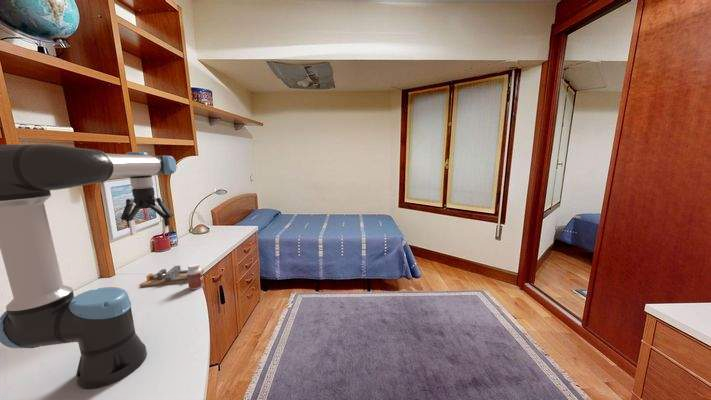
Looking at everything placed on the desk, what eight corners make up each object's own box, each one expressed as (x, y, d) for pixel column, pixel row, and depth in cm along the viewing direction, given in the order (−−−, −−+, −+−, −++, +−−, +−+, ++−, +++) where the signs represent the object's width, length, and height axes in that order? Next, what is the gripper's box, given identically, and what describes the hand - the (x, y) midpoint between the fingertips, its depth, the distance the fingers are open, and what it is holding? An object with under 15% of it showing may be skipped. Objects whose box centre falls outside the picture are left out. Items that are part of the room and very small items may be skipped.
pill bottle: (204, 287, 123) (201, 265, 121) (189, 291, 119) (186, 268, 118) (203, 282, 128) (200, 261, 126) (188, 286, 125) (185, 264, 123)
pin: (163, 278, 130) (163, 274, 130) (146, 280, 129) (146, 276, 129) (167, 276, 133) (166, 272, 133) (150, 277, 132) (149, 273, 132)
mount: (193, 282, 128) (192, 272, 128) (140, 287, 124) (138, 277, 123) (203, 271, 141) (202, 262, 140) (155, 275, 137) (154, 266, 136)
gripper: (177, 185, 119) (183, 229, 122) (118, 187, 116) (126, 232, 120) (168, 187, 112) (175, 234, 115) (104, 189, 109) (113, 237, 112)
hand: (150, 233), depth 117 cm, fingers open, 13 cm apart
